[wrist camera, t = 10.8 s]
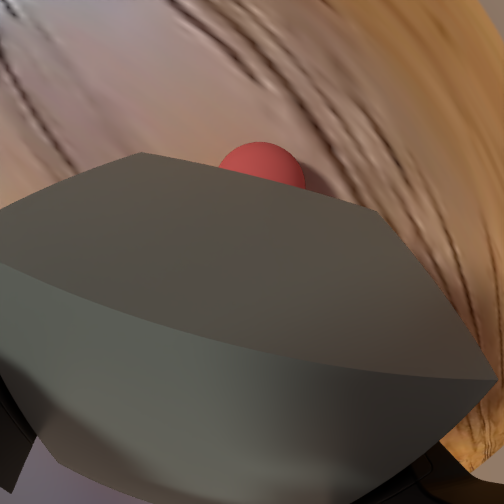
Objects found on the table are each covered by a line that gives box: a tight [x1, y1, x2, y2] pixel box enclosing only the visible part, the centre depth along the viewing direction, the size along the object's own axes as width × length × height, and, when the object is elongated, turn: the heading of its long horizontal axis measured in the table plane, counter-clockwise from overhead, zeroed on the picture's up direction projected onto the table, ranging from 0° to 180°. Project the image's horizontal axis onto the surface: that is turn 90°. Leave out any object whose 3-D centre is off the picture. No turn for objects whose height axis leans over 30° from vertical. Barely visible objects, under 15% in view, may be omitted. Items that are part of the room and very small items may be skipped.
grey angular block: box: [0, 152, 498, 504], centre depth 7 cm, size 8×8×7 cm
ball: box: [218, 142, 305, 189], centre depth 16 cm, size 5×5×5 cm
